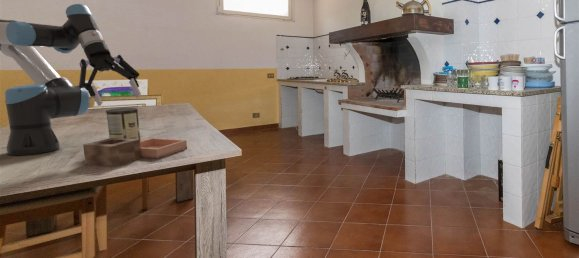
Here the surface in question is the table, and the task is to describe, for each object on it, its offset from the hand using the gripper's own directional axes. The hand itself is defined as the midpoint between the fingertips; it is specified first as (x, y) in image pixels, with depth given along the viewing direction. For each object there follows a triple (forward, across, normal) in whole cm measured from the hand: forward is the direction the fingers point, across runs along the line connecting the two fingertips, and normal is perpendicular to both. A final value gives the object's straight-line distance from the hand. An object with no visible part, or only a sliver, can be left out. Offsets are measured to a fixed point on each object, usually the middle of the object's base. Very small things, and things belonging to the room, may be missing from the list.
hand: (120, 100), depth 119 cm
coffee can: (+15, -1, +10) cm, 18 cm away
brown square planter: (+20, -12, -4) cm, 24 cm away
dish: (+22, +2, -3) cm, 22 cm away
